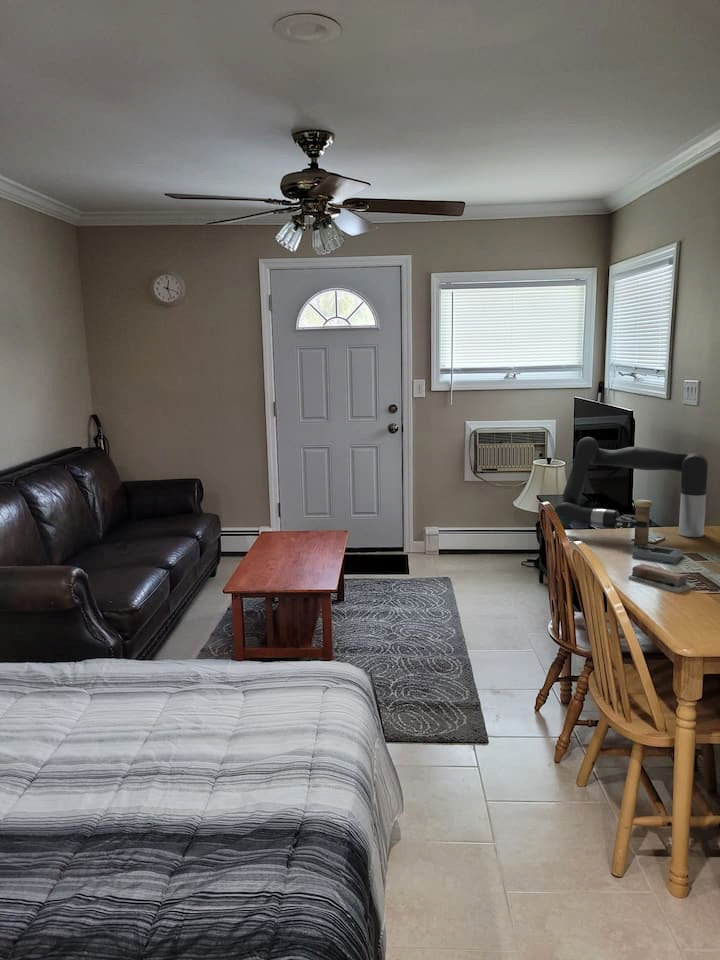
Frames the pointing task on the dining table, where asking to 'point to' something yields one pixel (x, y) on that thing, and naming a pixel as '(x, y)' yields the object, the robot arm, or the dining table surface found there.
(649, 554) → the keyhole plate
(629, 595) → the dining table surface
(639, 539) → the walnut peg
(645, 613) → the dining table surface
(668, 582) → the packaged product
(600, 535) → the dining table surface
